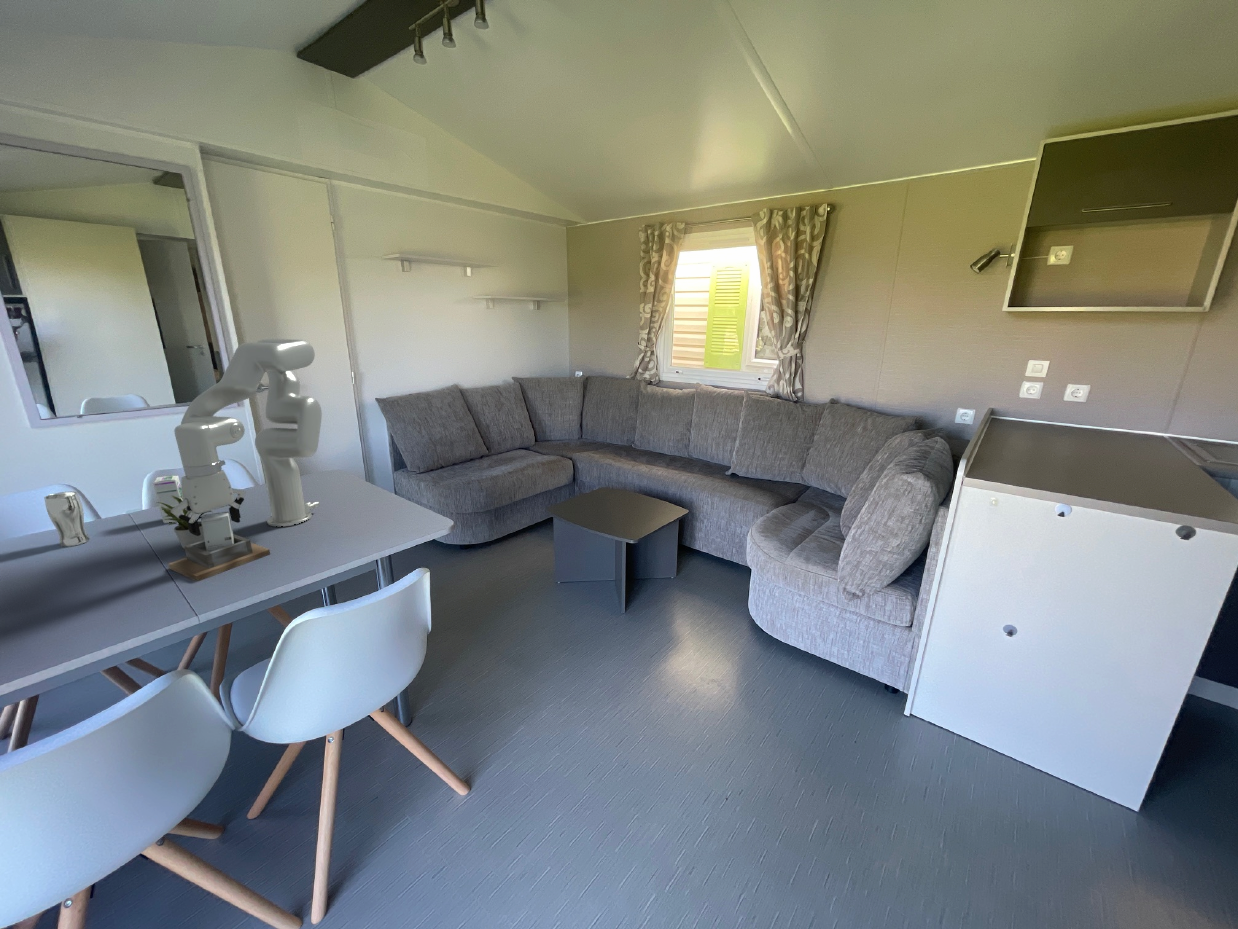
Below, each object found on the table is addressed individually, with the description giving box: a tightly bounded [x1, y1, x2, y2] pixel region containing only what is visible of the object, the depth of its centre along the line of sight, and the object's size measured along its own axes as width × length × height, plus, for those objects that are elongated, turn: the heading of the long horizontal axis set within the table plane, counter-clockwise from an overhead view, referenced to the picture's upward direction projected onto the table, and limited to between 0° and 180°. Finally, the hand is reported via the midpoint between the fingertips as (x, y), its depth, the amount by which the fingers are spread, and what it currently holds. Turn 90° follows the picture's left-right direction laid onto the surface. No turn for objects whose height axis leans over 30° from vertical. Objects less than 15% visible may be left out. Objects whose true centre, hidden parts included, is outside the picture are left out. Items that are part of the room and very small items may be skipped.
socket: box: [168, 533, 271, 582], centre depth 139 cm, size 18×14×6 cm
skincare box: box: [200, 511, 234, 552], centre depth 138 cm, size 6×4×12 cm
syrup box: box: [152, 474, 184, 524], centre depth 165 cm, size 6×6×14 cm
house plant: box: [156, 496, 213, 550], centre depth 148 cm, size 14×14×16 cm
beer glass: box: [43, 491, 91, 548], centre depth 146 cm, size 7×7×15 cm
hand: (216, 527), depth 138 cm, fingers open, 9 cm apart
